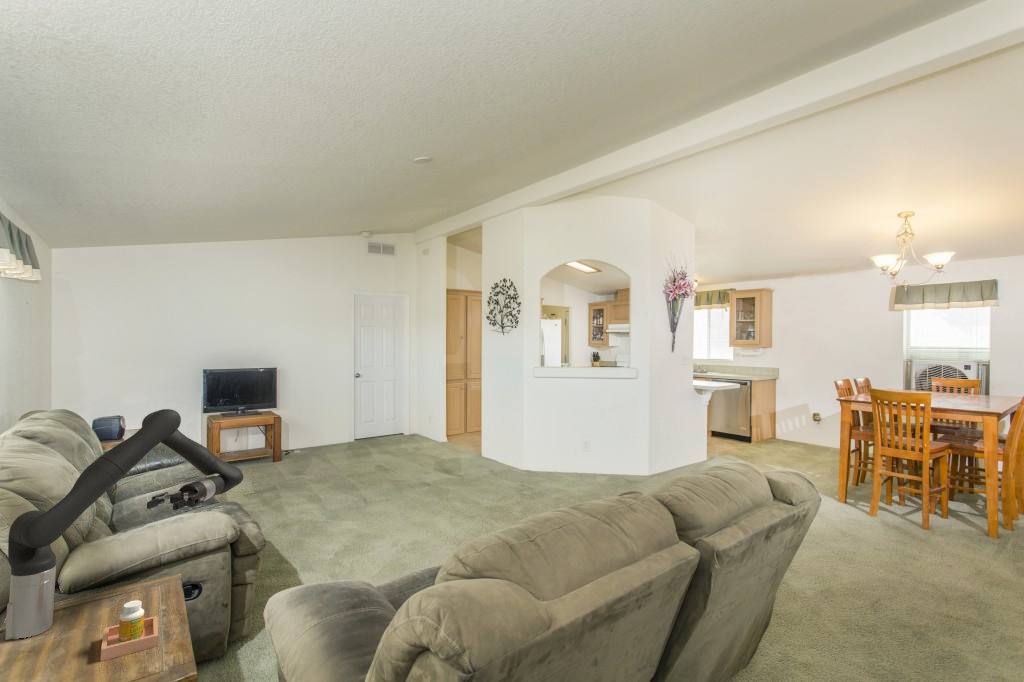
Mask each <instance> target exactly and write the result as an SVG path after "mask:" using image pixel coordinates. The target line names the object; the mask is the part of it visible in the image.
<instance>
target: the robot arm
mask: <svg viewBox="0 0 1024 682" xmlns="http://www.w3.org/2000/svg"><path fill="white" fill-rule="evenodd" d="M181 422H182V417H181V415H180V413H179V412H178V411H177V410H174V409H170V408H163V409H158V410H156V411H154V412H151V413H149V414H147V415H146V416H145V417H144V418H143V420H142V422H141V428H139V430H138V431H136V432H135V433H134V434H133V435H131V436H130V437H128V438H127V439H125V440H123V441H122V442H120V443H118V444H117V445H115V446H114V447H111V448H110V449H109V450H107V451H106V452H105V453H103V454H101V455H100V456H99V457H98V458H96V459H95V460H94V461H92V462H91V463H90V464H89V465H88V466H86V468H85V469H84V470H83V471H82V472H81V474H80V475H79V476H78V478H77V479H76V481H75V482H74V484H73V486H72V487H71V489H70V491H69V492H68V493H67V494H66V495H65V496H64V497H63V498H62V499H61V500H59V502H57V503H56V504H55V505H53V506H52V507H51V508H49V509H48V510H47V511H45V510H39V509H38V510H29V511H25V512H23V513H22V514H20V515H19V516H17V517H16V518H15V519H14V520H13V522H12V524H11V525H10V528H9V531H8V538H7V539H8V544H7V545H8V546H7V548H8V549H7V551H8V552H7V555H8V556H7V557H8V564H9V566H10V581H9V582H10V586H9V598H8V599H9V600H8V602H7V606H6V621H5V633H4V634H5V635H4V637H5V639H4V641H9V640H20V639H19V638H24V639H27V638H26V637H28V638H31V636H32V637H34V636H37V635H40V634H42V633H45V632H46V631H48V630H49V629H51V627H52V626H53V623H54V622H53V620H54V608H55V607H54V605H55V604H54V603H55V591H56V590H55V589H56V588H55V586H56V573H57V572H56V569H57V555H56V554H55V553H54V551H53V549H52V547H51V545H52V544H53V543H54V542H55V541H57V540H58V539H59V538H60V537H61V536H63V534H64V533H65V532H67V530H68V529H69V528H70V527H71V526H72V525H73V524H74V523H75V522H76V521H77V519H78V518H79V517H80V516H81V515H83V513H85V511H87V510H88V508H90V507H91V506H92V505H93V504H94V503H96V502H97V501H98V500H99V498H101V497H102V496H103V495H104V494H105V493H106V492H107V491H109V490H110V489H111V488H112V487H113V486H114V485H116V484H117V483H118V482H119V481H121V479H123V478H124V477H125V476H126V475H127V474H128V473H129V472H130V471H131V470H132V469H133V468H134V467H135V466H136V465H137V464H139V462H141V460H143V458H144V457H145V456H147V454H149V452H150V451H152V450H153V449H154V448H155V447H157V446H158V445H159V444H160V443H161V444H162V445H164V446H166V447H167V448H169V449H170V450H172V451H174V453H176V454H178V455H179V456H180V457H182V458H183V459H185V460H186V461H187V462H189V464H191V465H192V466H193V467H195V469H197V470H198V471H199V472H201V473H202V475H205V476H208V477H204V478H201V479H198V480H195V481H192V482H189V483H187V484H184V485H182V486H181V487H180V488H179V489H178V491H175V492H173V493H169V492H168V491H166V492H162V493H160V494H157V495H153V496H151V500H149V501H147V503H146V508H147V510H150V509H153V508H156V507H159V506H166V507H167V506H172V511H178V510H180V509H182V508H187V507H190V508H195V507H196V506H198V505H200V504H202V503H204V502H206V501H207V500H209V499H211V498H213V497H215V496H219V495H222V494H223V495H224V494H225V493H227V492H228V491H230V490H232V489H233V488H235V487H236V486H238V485H240V484H241V483H242V482H243V480H244V474H243V471H242V470H241V469H240V468H239V467H238V466H236V465H233V464H231V463H230V462H227V461H226V460H222V459H220V458H219V456H217V455H215V454H214V453H213V452H212V451H211V450H210V449H208V448H207V447H205V446H204V445H202V444H201V443H199V442H197V441H194V440H193V439H191V438H189V437H188V436H186V435H185V434H183V432H181V431H180V430H179V427H180V425H181ZM168 501H169V502H168Z"/></svg>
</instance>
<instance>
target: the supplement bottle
mask: <svg viewBox="0 0 1024 682" xmlns="http://www.w3.org/2000/svg"><path fill="white" fill-rule="evenodd" d="M142 603H143V602H142V601H141V600H136V599H135V600H131V601H128V602H126V603H124V604H123V608H122V610H123V612H122V613H121V614H120V616H119V622H118V625H119V639H118V642H119V643H122V642H126V641H130V640H134V639H138V638H142V636H143V626H144V619H145V610H144V608H142V605H143V604H142Z"/></svg>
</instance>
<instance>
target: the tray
mask: <svg viewBox="0 0 1024 682" xmlns="http://www.w3.org/2000/svg"><path fill="white" fill-rule="evenodd" d="M158 620H159V619H158V615H155V616H150V617H146V618H144V626H143V636H142V638H138V639H134V640H130V641H126V642H122V643H119V642H118V639H119V624H116V625H112V626H108V627H104V630H103V633H102V634H103V635H102V642H101V649H100V662H104V661H106V660H107V661H108V660H111V659H114V658H119V657H122V656H126V655H130V654H133V653H138V652H141V650H142V651H145V650H149V649H153V648H156V647H158V646H159V645H158V644H159V621H158Z"/></svg>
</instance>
